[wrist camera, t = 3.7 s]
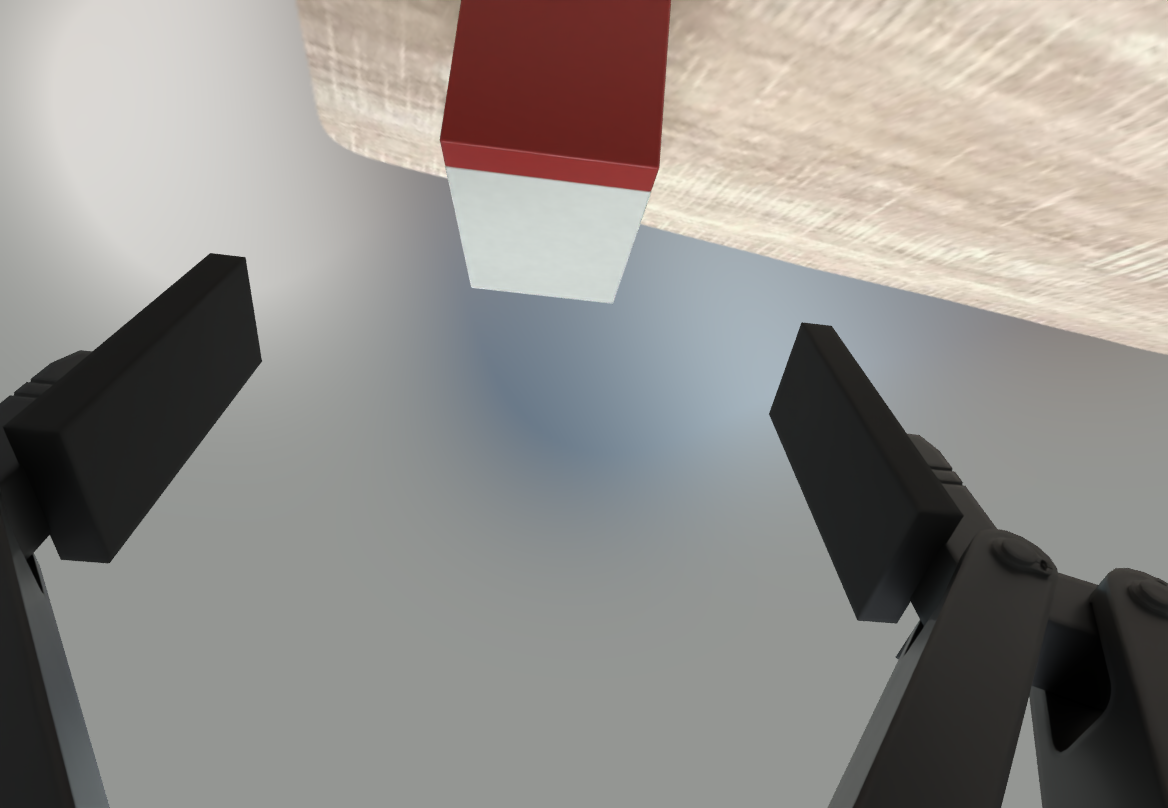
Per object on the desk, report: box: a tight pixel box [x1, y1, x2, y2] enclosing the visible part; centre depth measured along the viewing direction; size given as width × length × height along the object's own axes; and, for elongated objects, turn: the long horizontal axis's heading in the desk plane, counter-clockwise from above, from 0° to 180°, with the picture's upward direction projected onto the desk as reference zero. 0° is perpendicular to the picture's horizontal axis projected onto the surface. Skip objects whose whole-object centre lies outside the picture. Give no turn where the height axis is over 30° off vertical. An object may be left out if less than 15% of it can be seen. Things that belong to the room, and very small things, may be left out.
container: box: [440, 0, 671, 303], centre depth 28 cm, size 12×7×8 cm, turn 175°
